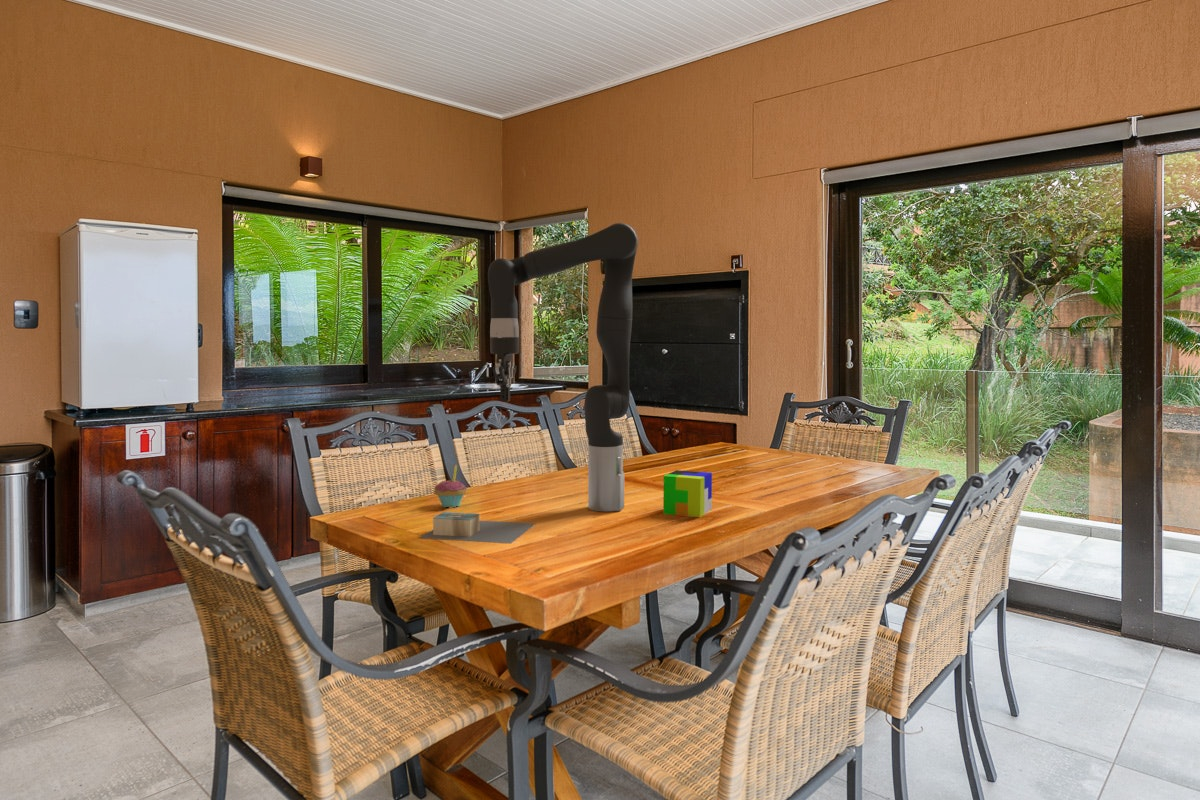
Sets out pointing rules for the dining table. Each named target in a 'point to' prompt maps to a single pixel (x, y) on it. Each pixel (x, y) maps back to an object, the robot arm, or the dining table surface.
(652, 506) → the dining table surface
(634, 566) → the dining table surface
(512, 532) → the mat
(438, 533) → the block
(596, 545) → the dining table surface
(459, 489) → the cupcake
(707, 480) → the puzzle toy
